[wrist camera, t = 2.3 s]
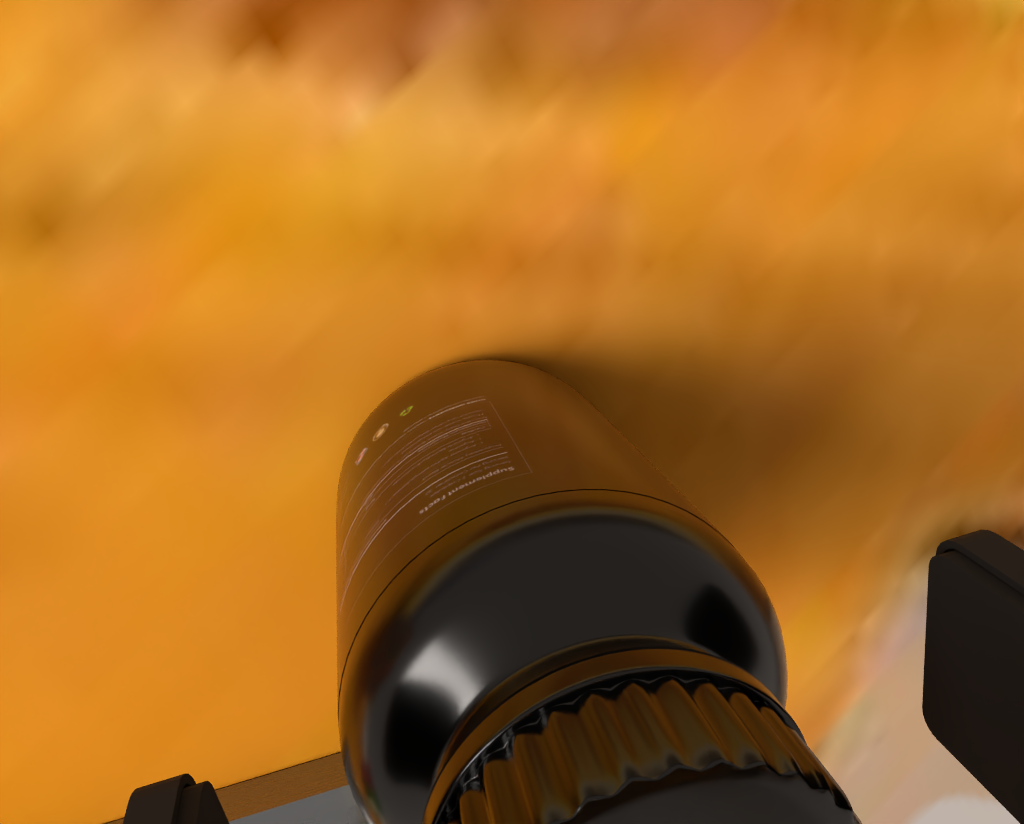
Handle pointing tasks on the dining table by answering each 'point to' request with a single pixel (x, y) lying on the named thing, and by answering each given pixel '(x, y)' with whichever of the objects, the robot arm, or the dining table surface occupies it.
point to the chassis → (293, 796)
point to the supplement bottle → (550, 625)
